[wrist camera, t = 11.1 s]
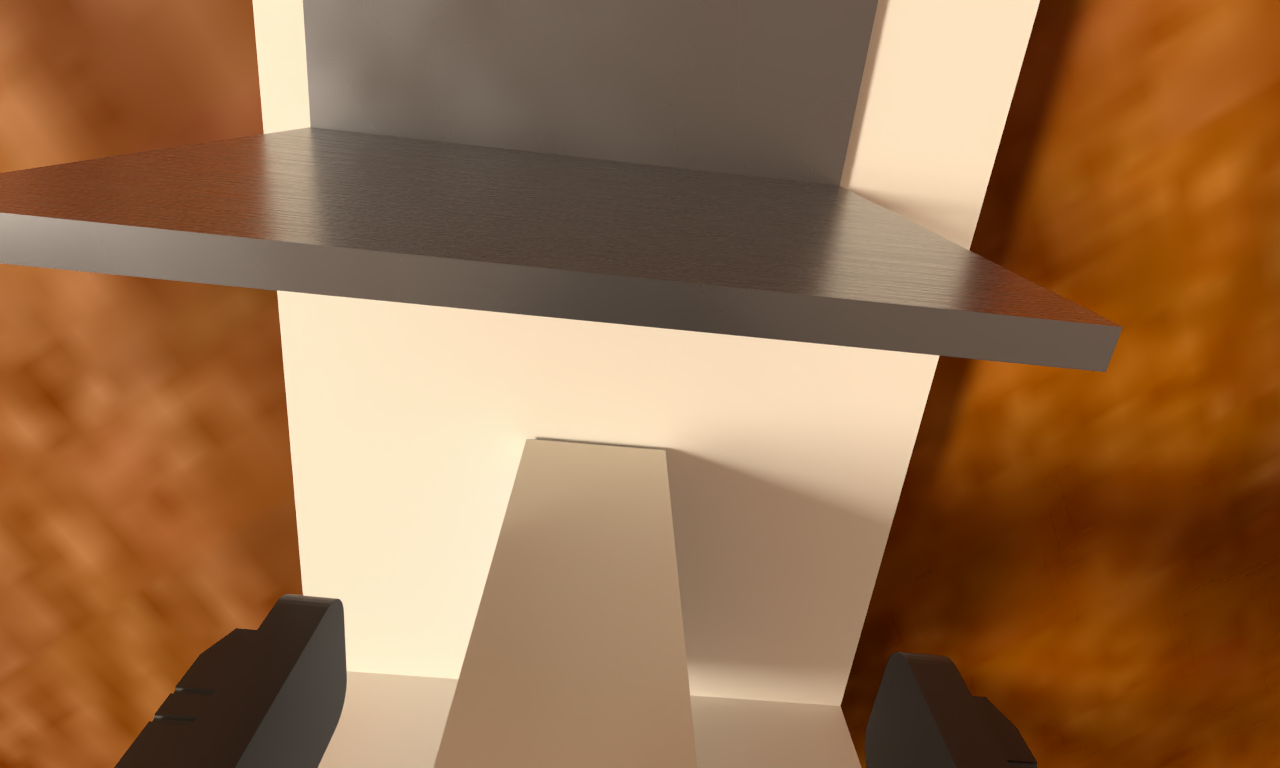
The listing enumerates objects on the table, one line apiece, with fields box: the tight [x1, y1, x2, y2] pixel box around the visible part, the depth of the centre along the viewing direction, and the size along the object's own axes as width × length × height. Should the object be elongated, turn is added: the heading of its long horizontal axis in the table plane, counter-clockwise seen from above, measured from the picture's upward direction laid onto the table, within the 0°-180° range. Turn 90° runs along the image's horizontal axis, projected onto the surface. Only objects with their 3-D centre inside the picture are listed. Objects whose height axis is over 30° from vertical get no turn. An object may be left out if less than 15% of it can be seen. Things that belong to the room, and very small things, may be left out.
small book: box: [433, 439, 698, 768], centre depth 13 cm, size 3×6×9 cm, turn 174°
